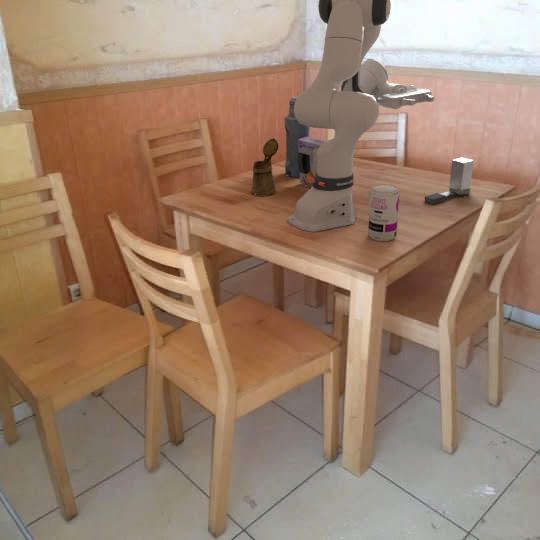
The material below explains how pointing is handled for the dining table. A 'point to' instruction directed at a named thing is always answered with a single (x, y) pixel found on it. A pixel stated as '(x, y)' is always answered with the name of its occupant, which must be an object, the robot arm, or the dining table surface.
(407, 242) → the dining table surface
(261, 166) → the wooden mug
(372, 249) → the dining table surface
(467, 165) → the tall grey pillar block
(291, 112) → the bottle
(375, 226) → the supplement can
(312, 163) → the cake pan box
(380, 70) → the robot arm
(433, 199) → the ratchet
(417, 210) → the dining table surface
